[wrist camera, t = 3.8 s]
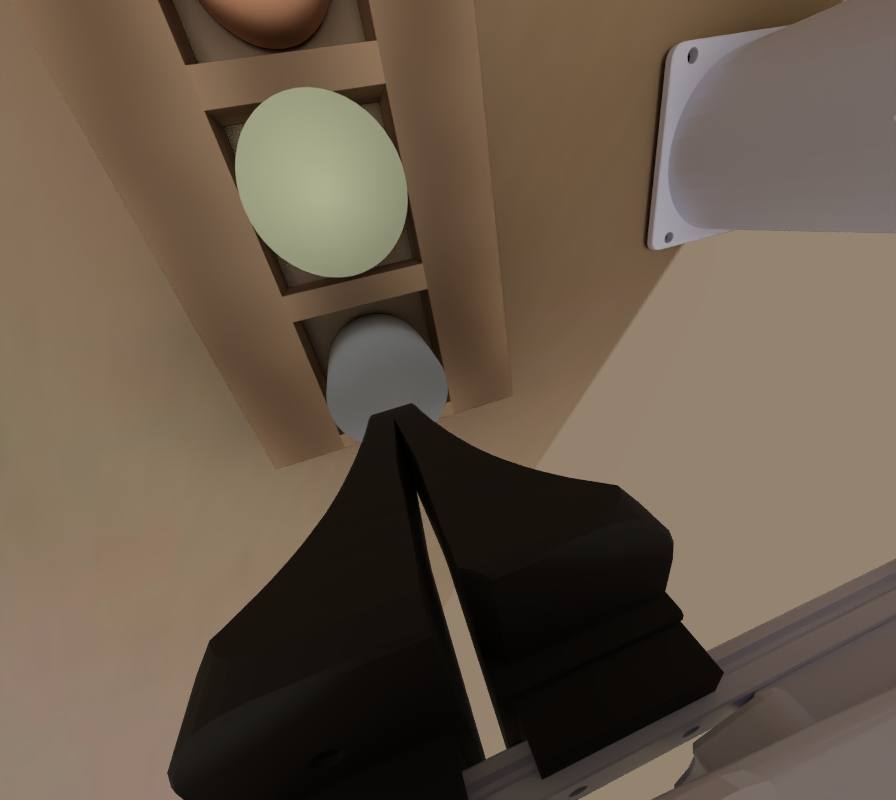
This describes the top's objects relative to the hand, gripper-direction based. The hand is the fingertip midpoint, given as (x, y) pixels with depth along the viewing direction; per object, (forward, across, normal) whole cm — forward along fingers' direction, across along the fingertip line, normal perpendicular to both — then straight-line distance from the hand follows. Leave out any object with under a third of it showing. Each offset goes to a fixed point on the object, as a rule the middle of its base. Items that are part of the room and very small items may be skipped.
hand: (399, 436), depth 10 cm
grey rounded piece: (+6, 0, 0) cm, 6 cm away
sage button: (+6, 0, -7) cm, 9 cm away
